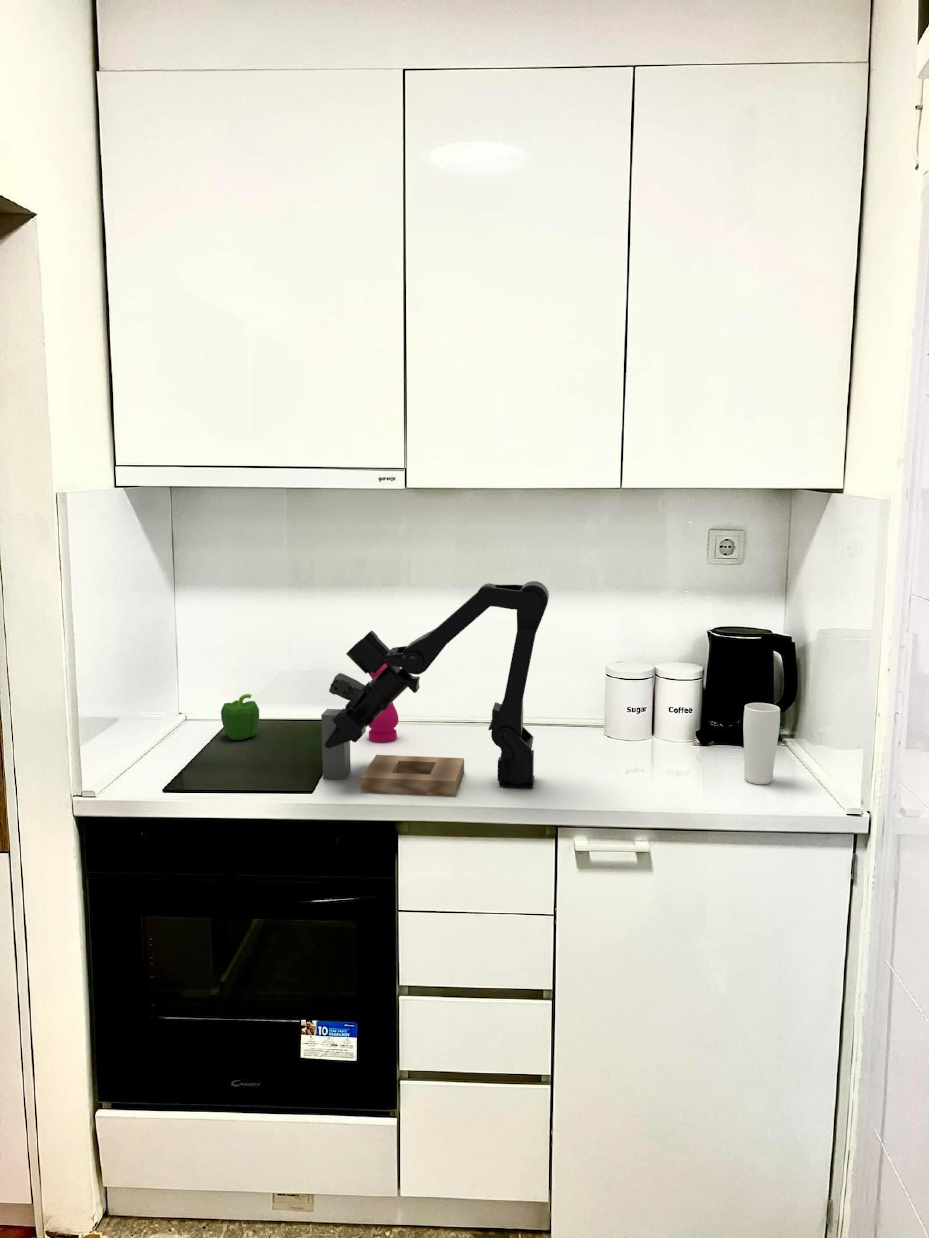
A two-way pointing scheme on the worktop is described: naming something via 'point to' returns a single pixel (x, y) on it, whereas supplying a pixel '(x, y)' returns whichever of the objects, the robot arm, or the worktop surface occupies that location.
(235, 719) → the bell pepper
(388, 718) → the pepper mill
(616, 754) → the worktop surface
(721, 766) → the worktop surface
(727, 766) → the worktop surface
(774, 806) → the worktop surface
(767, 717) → the drinking glass
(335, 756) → the plug block
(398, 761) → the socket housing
